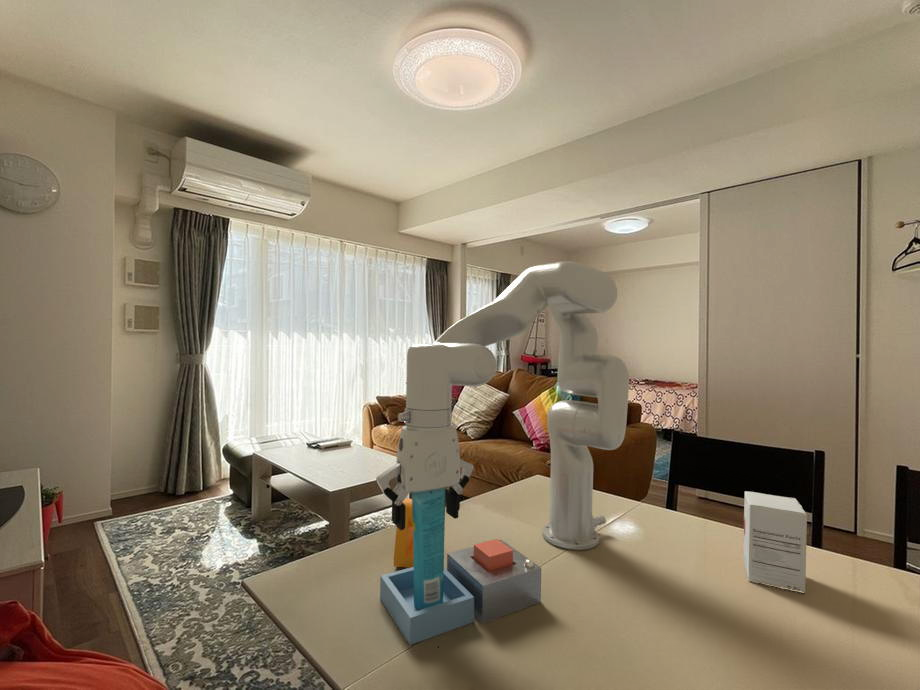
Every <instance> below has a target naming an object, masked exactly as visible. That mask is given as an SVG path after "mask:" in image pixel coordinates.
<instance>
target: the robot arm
mask: <svg viewBox="0 0 920 690" xmlns="http://www.w3.org/2000/svg"><path fill="white" fill-rule="evenodd" d="M617 298H618V288H617V284H616V282H615V280H614V279H613V277H612V276H610V274H608V273H607V272H605V271H603V270H599V269H596V268H594V267H591V266H588V265H586V264H582V263H579V262H576V261H569V260H566V261H565V260H564V261H557V262H551V263H550V262H549V263H543V264H537V265H534V266H530V267H528V268H526V269H525V270H523V271H522V272H521V273H520V274H519V275H518V276H517V277H516V278H515V280H513V281H512V282H511V283H510V284H509V285H508V286H507V287H506V288H505V289H504V290H502V292H501V293H500V294H499V295H498V296H496V298H495V299H494V300H493V301H492V302H490V303H488V304H486V305H484V306H483V307H481V308H479V309H477V310H476V311H474V312H472V313H470V314H468V315H467V316H465V317H463V318H462V319H459V320H458V321H457V322H455V323H454V324H452V325H451V326H450V327H448V328H447V329H446V330H444V332H443V333H441V335H439V336H438V337H437V339H436V340H435V341H434V342H433V343H414V344H411V345H410V346H409V347H408V350H407V352H406V353H407V354H406V392H405V393H406V396H405V397H406V399H405V400H406V401H405V408H404V411H403V412H400V413H398V414H397V420H398V422H404V424H405V425H403V426H402V427H401V430H400V435H399V439H398V444H397V453H396V462H395V464H394V465H393V466H391V467H389V468H388V469H386V470H385V471H384V472H382V473H380V474H379V475H378V476H377V477H376V482H377V484H378V486H379V488H380V491H381V493H382V494H384V495H385V496H386V497H387V498H388V499H389V500H390V501H391V521H392V523H393V524H394V525H395V527H396V528H397V527H398V528H399V529H400V530H404V529H405V512H406V506H405V504H403V501H404V500H405V499H407V497H408V496H409V494H412V493H419V492H426V491H432V490H437V489H443V488H446V497H445V514H448V515H449V516H450V517H452V518H453V519H458V518H459V511H460V507H461V504H460V503H461V494H463V493H464V488H465V487H466V485H468V483H469V481H470V477H471V476H472V472H473V471H474V465H473V464H472V463H469V462H467V461H465V460H463V459H461V456H460V444H459V437H458V431H457V427H456V425H454V424H452V396H453V395H452V393H453V392H452V391H453V390H452V388H453V386H464V387H470V388H473V387H474V388H475V387H481V386H483V385H486V384H487V383H490V381H491V380H492V379H493V377H494V376H495V374H496V372H497V366H498V365H497V358H496V356H495V354H494V353H493V352H492V351H491V349H489V348H488V346H491V345H494V344H498V343H501V342H506V341H508V340H511V339H514V338H517V337H519V336H521V335H522V334H524V333H525V332H526V330H527V329H528V328H529V327H530V326H531V324H533V322H535V320H536V319H537V318H538V317H539V315H541V313H543V311H544V310H545V309H547V311H548V313H550V314H551V316H552V318H553V320H554V321H555V323H556V326H557V328H558V331H559V347H558V348H559V350H558V352H559V353H558V362H557V378H556V379H557V385H558V387H559V389H560V390H561V391H562V392H564V393H566V394H569V395H574V396H580V397H582V396H583V397H590V398H597V403H594V402H593V403H592V402H589V401H579V400H572V399H571V400H570V399H569V400H568V399H566V400H565V399H564V400H559V401H556V402H555V403H553V404H552V405H551V407H550V408H549V410H548V412H547V417H546V424H547V431H548V436H549V447H550V474H549V475H550V478H549V479H550V483H549V484H550V487H549V523H547V524H546V525H544V526H543V528H542V537H543V538H544V539H545V540H546V542H548V543H549V544H551V545H554V546H556V547H559V548H562V549H566V550H574V551H575V550H576V551H583V550H589V549H592V548H595V547H596V546H597V545H598V544H600V543H599V542H600V536H599V534H598V532H597V531H596V528H597V527H598V526H601V525H605V524H606V523H607V520H606V517H605V516H604V515H599V516H595V517H594V515H593V502H594V501H593V500H594V499H593V494H594V492H593V490H594V489H593V488H594V461H593V460H594V459H593V457H592V454H591V452H590V450H589V448H588V447H590V448H595V449H601V450H606V451H613V450H617V449H618V448H619V447H620V446H621V445H622V443H623V441H624V439H625V436H626V431H627V430H626V429H627V421H628V419H627V418H628V406H629V405H628V404H629V394H630V393H629V391H630V389H629V388H630V376H629V369H628V367H627V365H626V363H625V361H624V360H622V358H621V357H618V356H615V355H609V354H598V340H599V339H598V338H599V337H598V336H599V335H598V330H597V328H596V326H595V324H594V322H593V320H592V319H591V318H590V317H589V315H588V314H600V313H605V312H607V311H609V310H610V309H612V308H613V306H615V303H616V301H617ZM394 478H395V482H396V485H395V487H394V488H393V489H391V487H390V483H389V482H390V481H392V479H394ZM447 488H448V489H447Z"/></svg>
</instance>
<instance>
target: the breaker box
mask: <svg viewBox="0 0 920 690" xmlns="http://www.w3.org/2000/svg"><path fill="white" fill-rule="evenodd" d="M498 540H499V541H501V542H502V543H503V544H505V545H506V546H508V547H509V548H510V549H512V550H513V565H511V566H508V567H505V568H501V569H498V570H495V571H491V572H487V571H486V570H485V569H484V568H483V567H481V566H480V565H479V564H478V563H477V562H475V561H474V546H470V547H466V548H462V549H457V550H454V551H451V552H448V553H446V555H447V556H446V559H447V560H446V570H447V571H448V572H449V573H450V574H451V575H452V576H453V577H454V578H455V579H456V580H457V581H458V582H459V583H460V584H461V585H462V586H463V587H464V588H465V589H466V590H467V591H468V592H469V593H470V594H471V595H473V596H474V617H475V618H476V619H477V620H478V621H479V622H480V623H481V624H485V623H488V622H491V621H493V620H496V619H499V618H501V617H502V618H503V617H504V616H507V615H510V614H513V613H515V612H518V611H520V610H523V609H527V608H528V607H529V608H530V607H532V606H534V605H537V604H541V602H542V600H541V599H542V567H541V566H540V565H538V564H537V563H536V562H534V561H533V560H532V559H530V558H528V557H527V556H526V555H524V554H523V553H521V552H520V551H519V550H517V549H516V548H514V547H513V546H511V545H510V544H509V543H507V542H505V541H504V540H503V539H498Z"/></svg>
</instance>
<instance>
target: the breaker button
mask: <svg viewBox="0 0 920 690" xmlns="http://www.w3.org/2000/svg"><path fill="white" fill-rule="evenodd" d="M499 540H500V539H498V538H495V539H491V540H487V541H483V542H480V543H479V542H478V543H475V544H473V547H474V561H475V562H477V563H478V564H479V565H480V566H481V567H483V568H484V569H485V570H486V571H487V572H491V571H495V570H498V569H501V568H505V567H508V566H511V565H513V550H512V549H510V548H509V547H508V546H506V545H505V544H503V543H502V542H501V541H499Z"/></svg>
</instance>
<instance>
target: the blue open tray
mask: <svg viewBox="0 0 920 690" xmlns="http://www.w3.org/2000/svg"><path fill="white" fill-rule="evenodd" d="M379 576H380V580H379V581H380V582H379V583H380V584H379V587H380V588H379V590H380V591H379V599H380V601H381V602H382V604H383V606H384V607H385V609H386V610H387V612H388V613H389V615H390V616H391V618H392V620H393V621H394V622H395V625H396V626H397V627H398V629H399V631H400V632H401V633H402V636H403V637H404V638H405V640H406V641H407V643H408V645H409V646H412V645H413V644H416V643H419V642H422V641H426V640H428V639H431V638H433V637H436V636H439V635H442V634H445V633H447V632H451V631H453V630H456V629H459V628H462V627H464V626H466V625H469V624H473V623H474V621H475V619H474V617H475V616H474V596H473V595H471V594H470V593H469V592H468V591H467V590H466V589H465V588H464V587H463V586H462V585H461V584H460V583H459V582H458V581H457V580H456V579H455V578H454V577H453V576H452V575H451V574H450V573H449V572H448V571H447V568H445V567H444V577H443V603H441V604H438V605H435V606H431V607H428V608H425V609H422V610H419V609H417V608H416V607H415V605H414V567H411V568H410V567H406V568H404V569H401V570H397V571H392V572H390V573H389V572H388V573H384V574H381V575H379Z"/></svg>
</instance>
